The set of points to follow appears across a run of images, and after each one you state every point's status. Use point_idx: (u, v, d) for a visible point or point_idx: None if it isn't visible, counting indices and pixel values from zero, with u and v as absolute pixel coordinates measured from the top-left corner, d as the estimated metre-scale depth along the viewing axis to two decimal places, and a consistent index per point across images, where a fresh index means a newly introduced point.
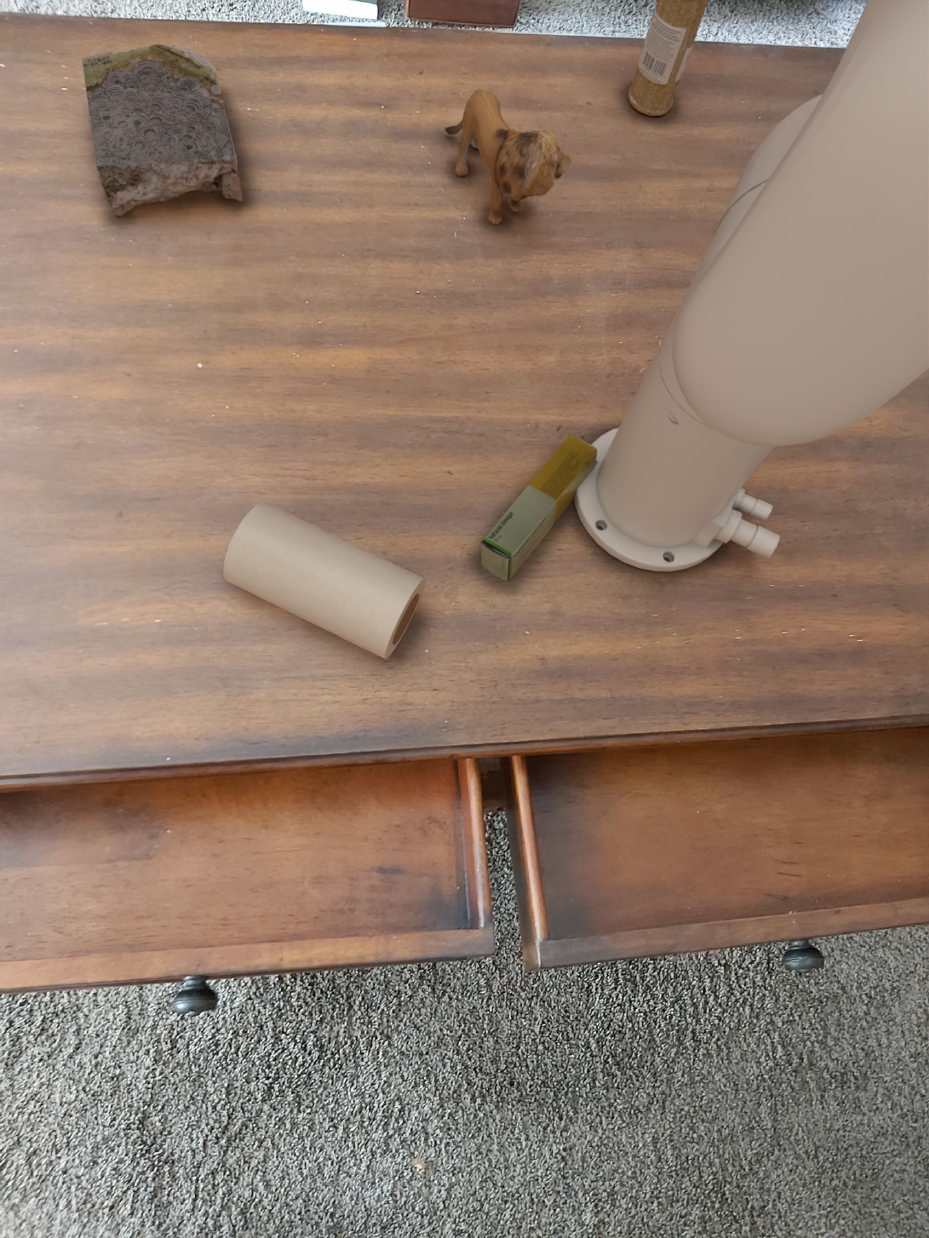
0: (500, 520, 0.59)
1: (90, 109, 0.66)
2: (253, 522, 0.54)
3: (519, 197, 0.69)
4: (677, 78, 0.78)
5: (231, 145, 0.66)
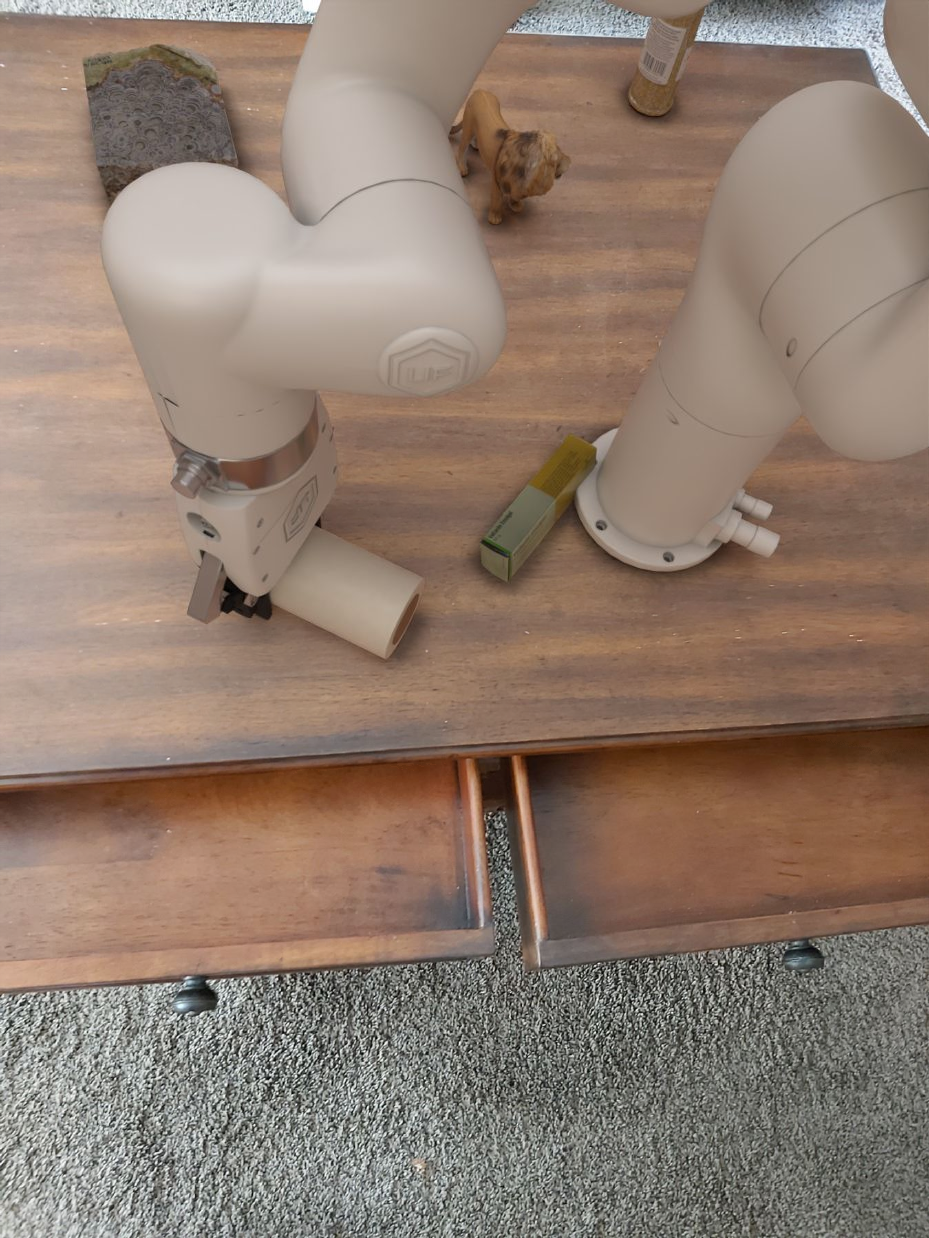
0: (499, 519, 0.59)
1: (90, 109, 0.66)
2: None
3: (519, 197, 0.69)
4: (677, 78, 0.78)
5: (231, 145, 0.66)
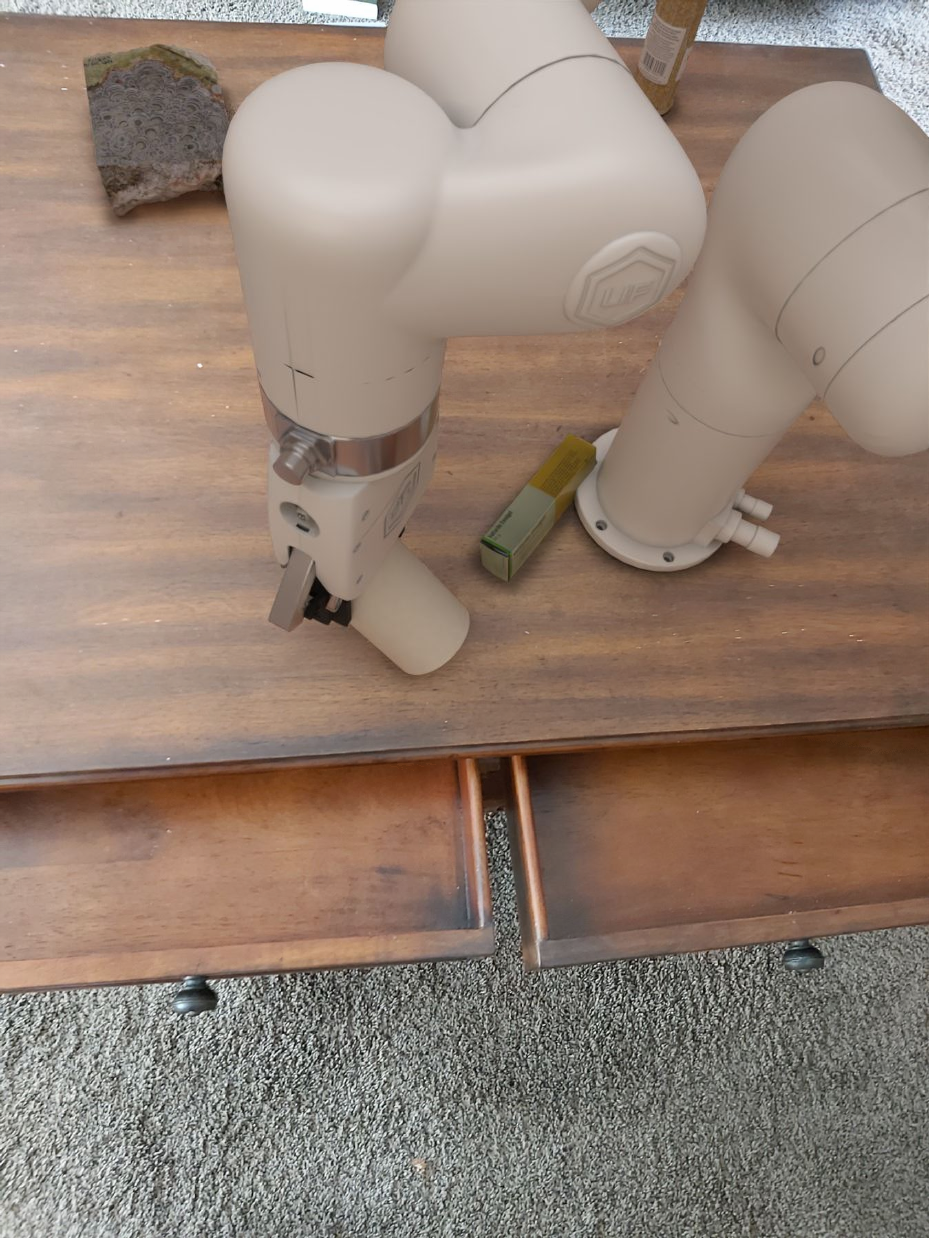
0: (499, 519, 0.59)
1: (91, 109, 0.66)
2: None
3: None
4: (677, 78, 0.78)
5: None
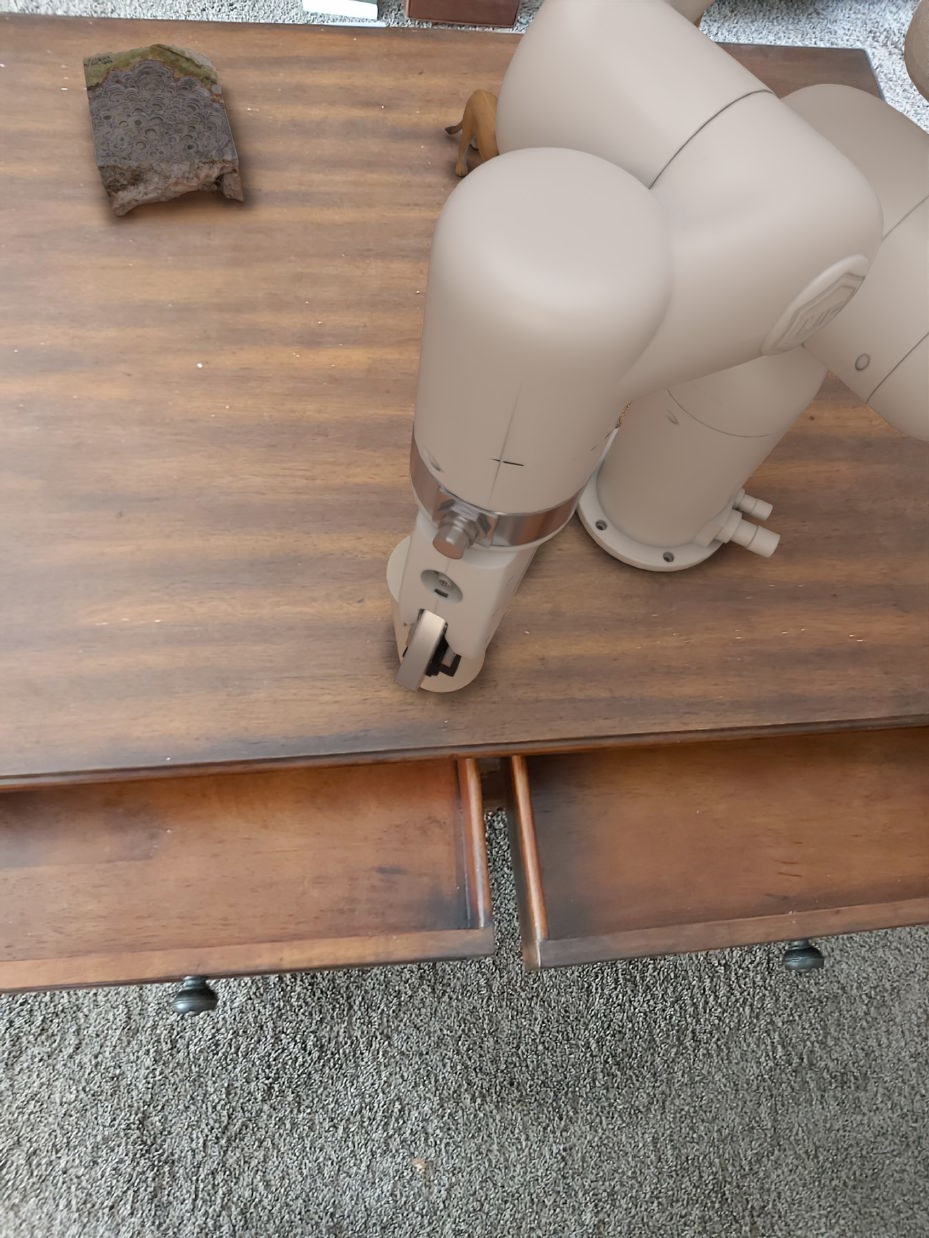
0: None
1: (91, 109, 0.66)
2: None
3: None
4: None
5: (232, 145, 0.66)
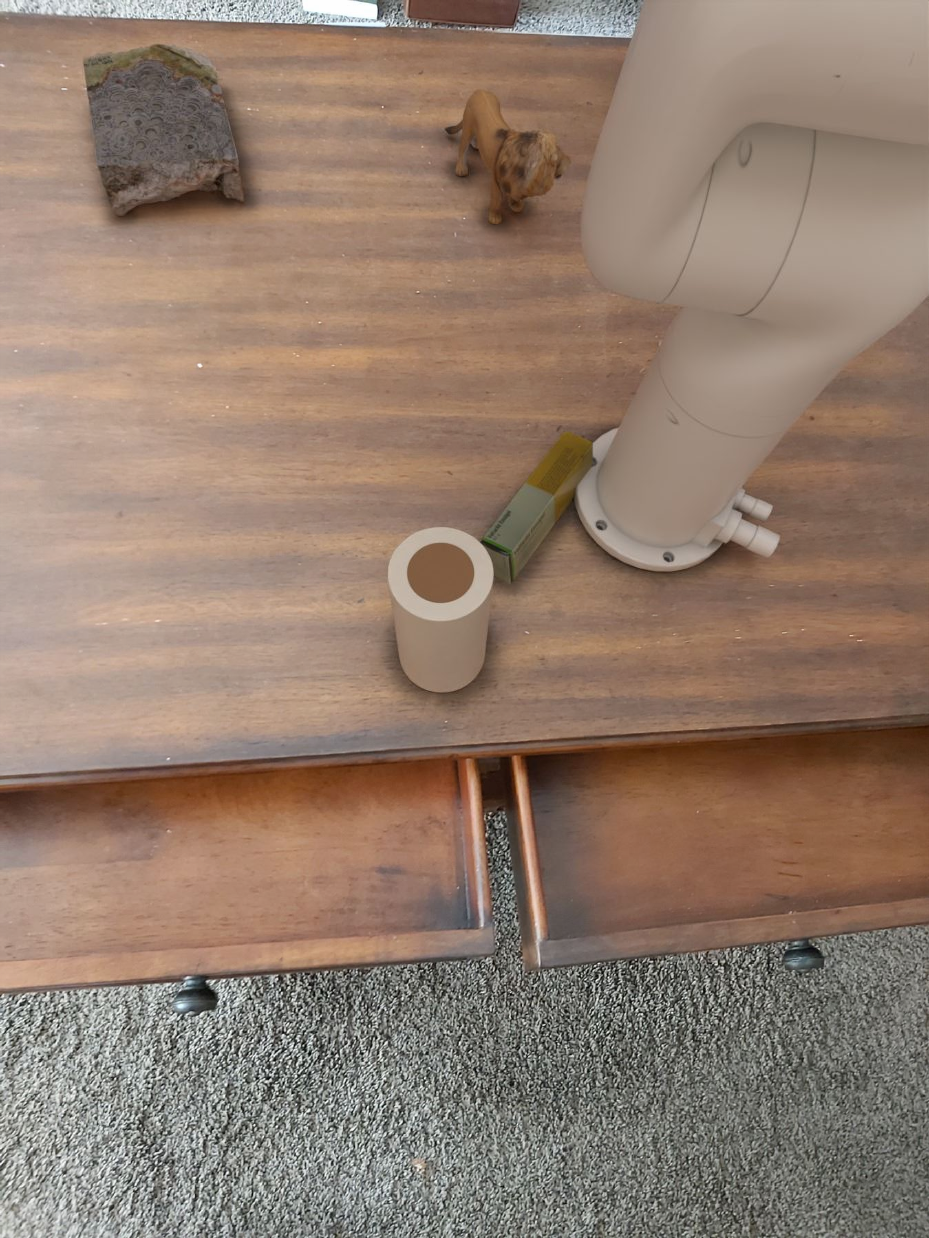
0: (498, 519, 0.59)
1: (91, 109, 0.66)
2: (490, 594, 0.47)
3: (519, 197, 0.69)
4: None
5: (232, 144, 0.66)
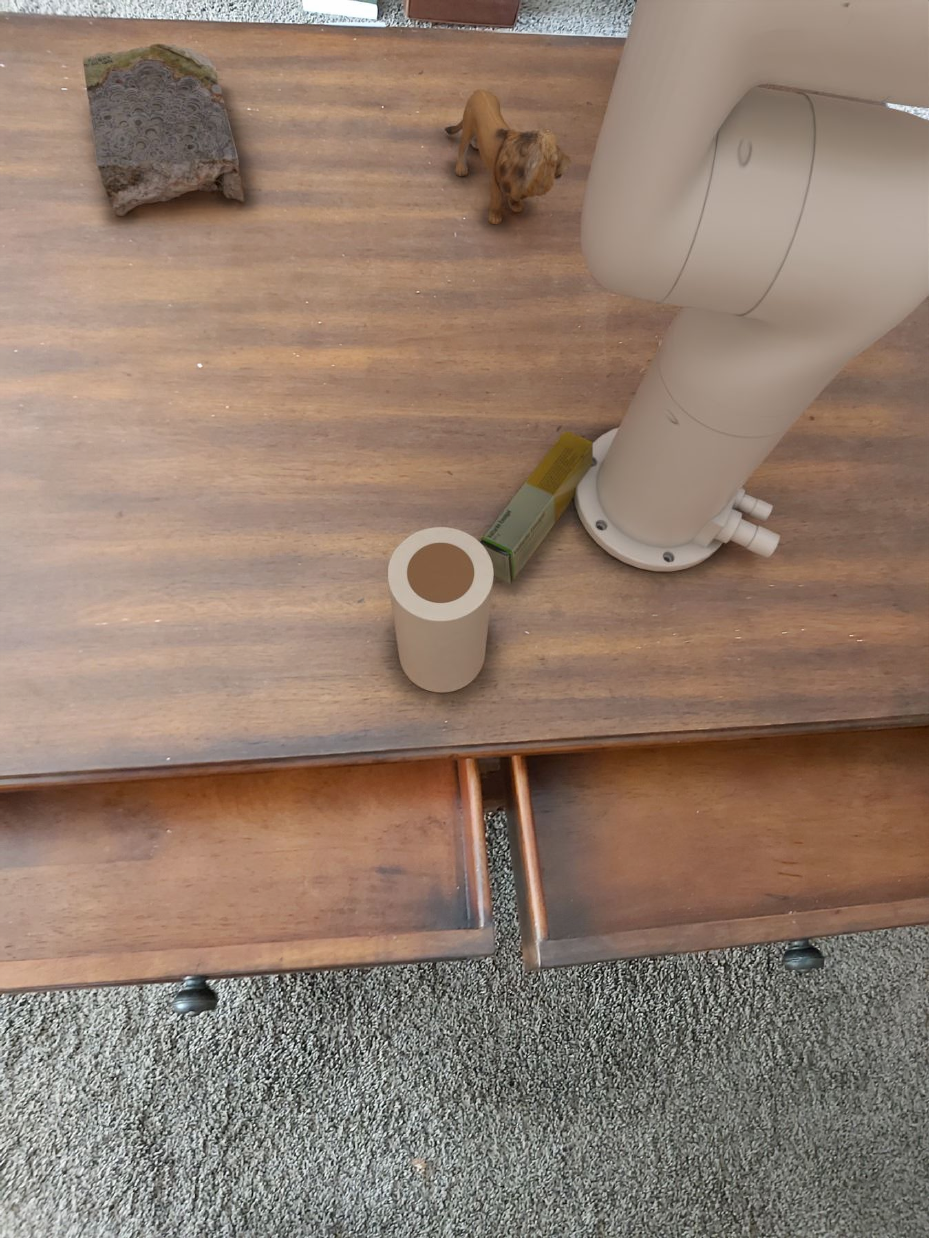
0: (498, 519, 0.59)
1: (91, 109, 0.66)
2: (490, 594, 0.47)
3: (519, 197, 0.69)
4: None
5: (232, 145, 0.66)
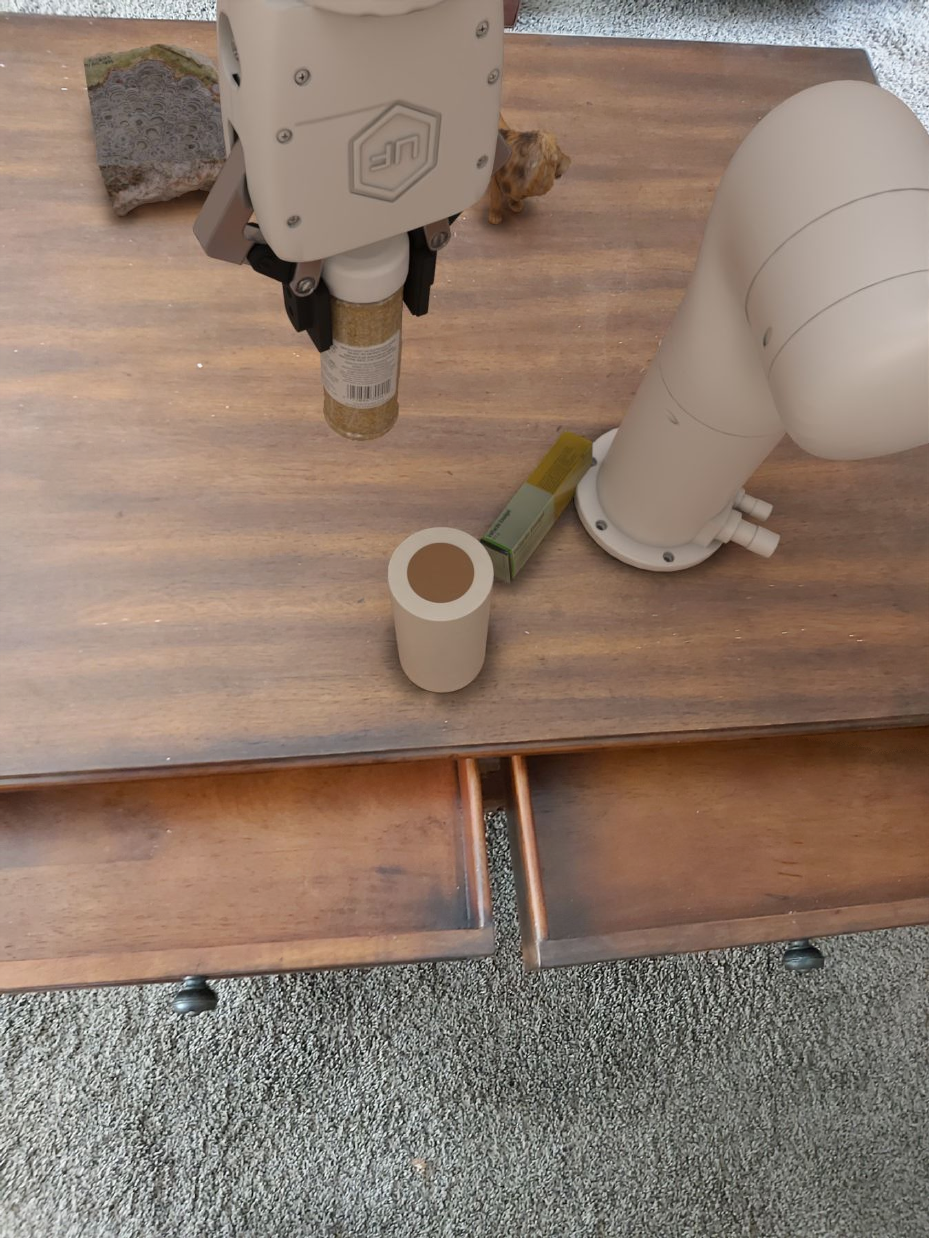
0: (498, 518, 0.59)
1: (92, 109, 0.66)
2: (490, 594, 0.47)
3: (519, 197, 0.69)
4: (399, 372, 0.47)
5: None
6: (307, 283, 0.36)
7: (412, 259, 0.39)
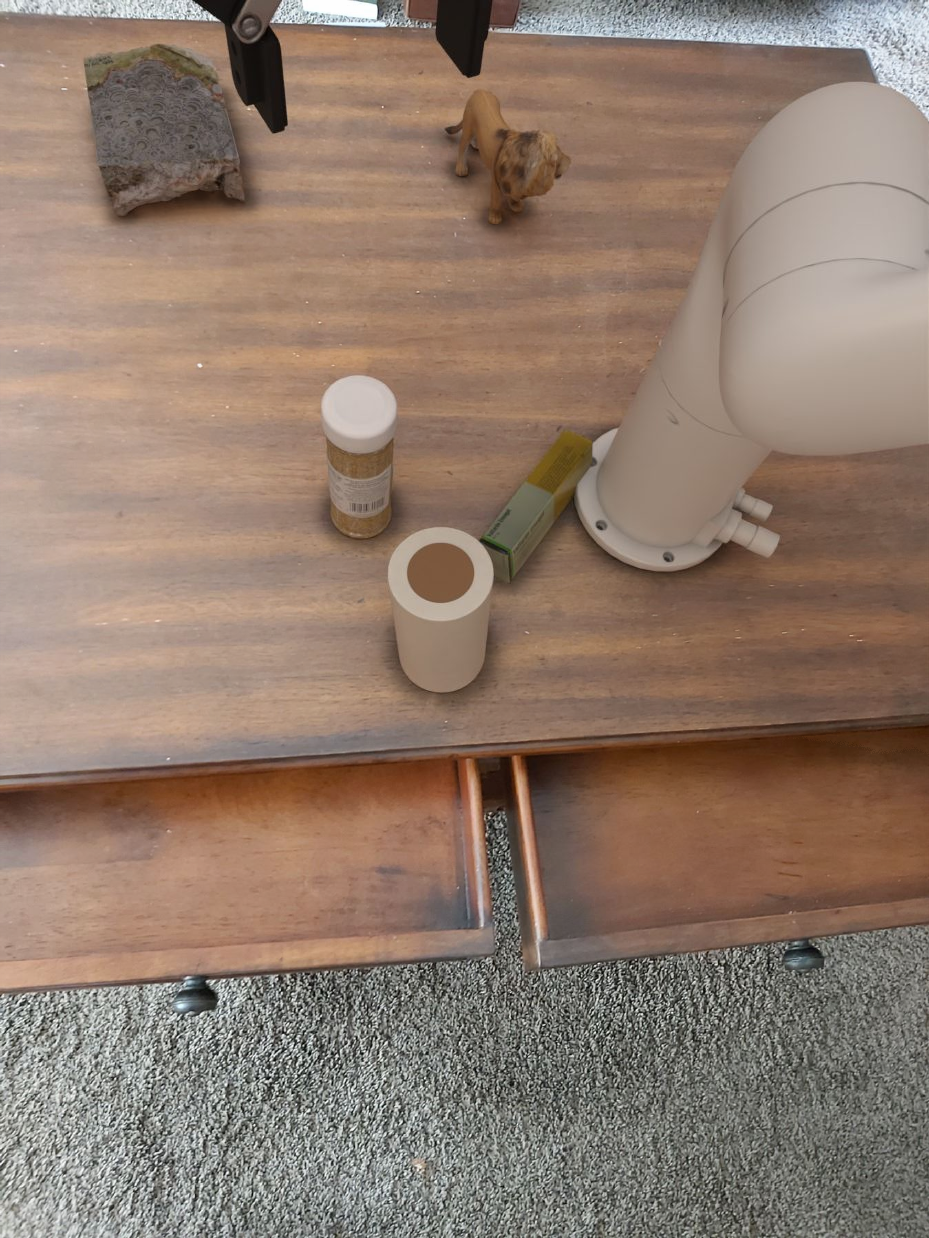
0: (498, 518, 0.59)
1: (92, 109, 0.66)
2: (490, 594, 0.47)
3: (519, 197, 0.69)
4: None
5: (233, 144, 0.66)
6: (252, 25, 0.32)
7: None
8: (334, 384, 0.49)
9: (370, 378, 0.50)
